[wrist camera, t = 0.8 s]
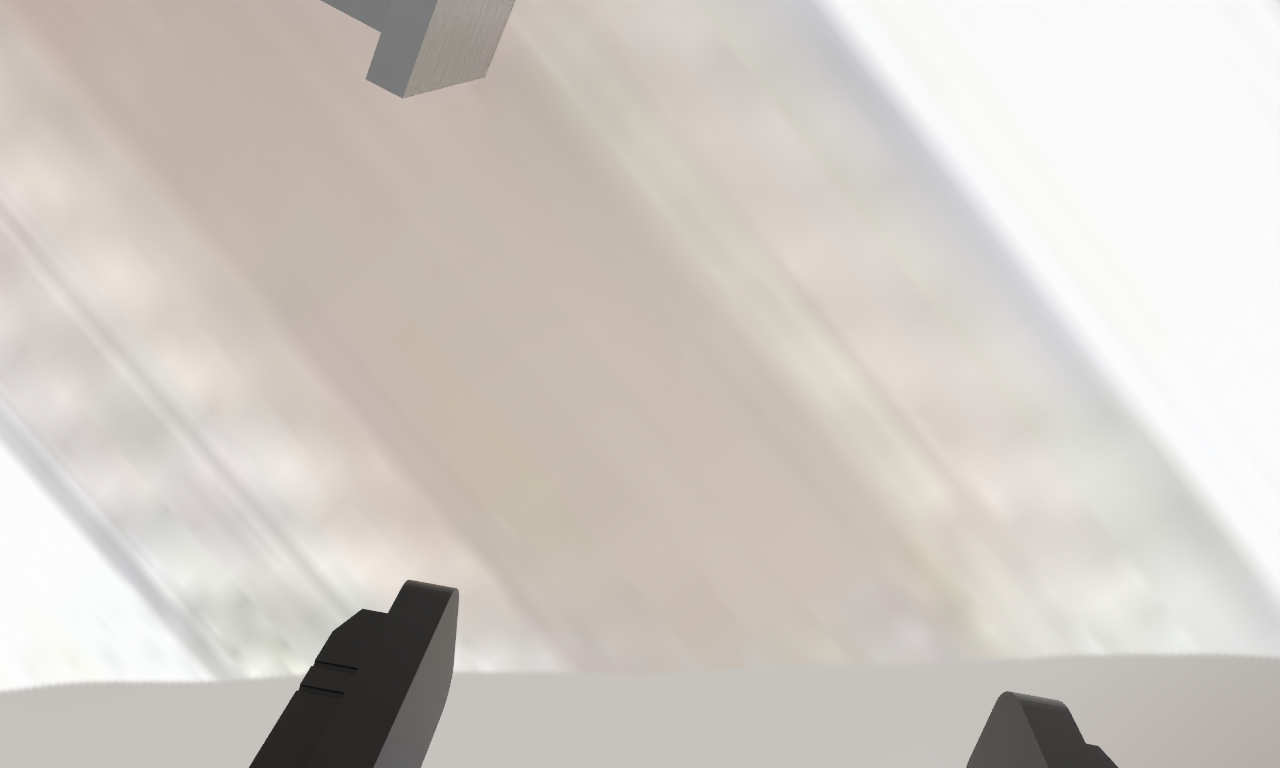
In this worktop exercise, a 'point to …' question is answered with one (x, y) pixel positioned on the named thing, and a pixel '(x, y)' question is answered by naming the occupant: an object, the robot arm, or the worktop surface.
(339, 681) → the robot arm
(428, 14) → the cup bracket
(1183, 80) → the worktop surface
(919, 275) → the worktop surface
